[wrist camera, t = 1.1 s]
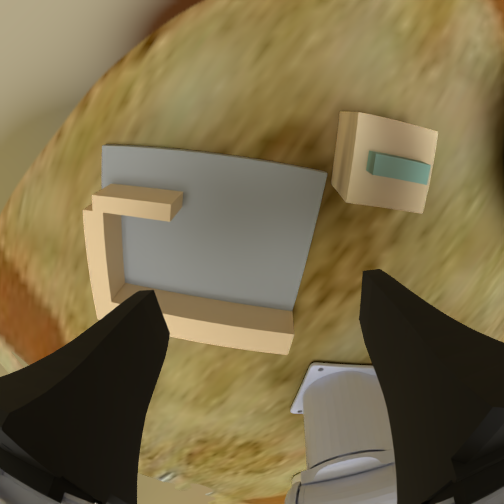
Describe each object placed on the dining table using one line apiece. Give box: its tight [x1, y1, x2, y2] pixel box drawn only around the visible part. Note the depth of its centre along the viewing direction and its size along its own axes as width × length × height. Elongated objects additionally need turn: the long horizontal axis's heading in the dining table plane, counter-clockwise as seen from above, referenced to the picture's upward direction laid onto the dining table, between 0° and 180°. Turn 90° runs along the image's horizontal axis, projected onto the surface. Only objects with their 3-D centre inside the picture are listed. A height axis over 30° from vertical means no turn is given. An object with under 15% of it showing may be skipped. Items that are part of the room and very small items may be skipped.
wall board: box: [83, 144, 327, 355], centre depth 18 cm, size 14×12×3 cm
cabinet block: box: [331, 111, 438, 214], centre depth 14 cm, size 4×4×5 cm
